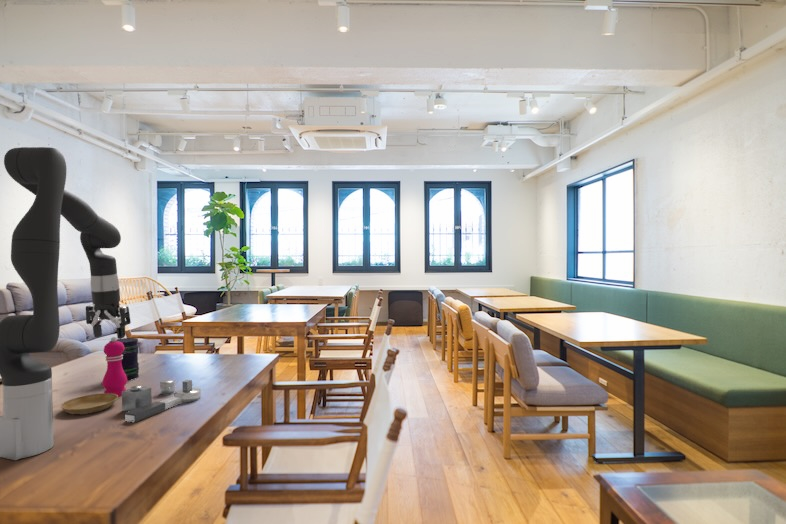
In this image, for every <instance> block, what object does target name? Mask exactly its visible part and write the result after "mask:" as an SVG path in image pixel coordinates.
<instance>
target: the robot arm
mask: <svg viewBox="0 0 786 524" xmlns="http://www.w3.org/2000/svg"><path fill="white" fill-rule="evenodd" d="M3 165H4V169H5V170H6V173H7V174H8V175H9V176H10V177H11V179H12V180H14V181H15V182H16V183H17V184H19V185H20V186H21V187H22V188H24V189H26V190H27V191H28V192H31V193H32V194H33V195H35V198H34V201H33V203H32V204H31V206H30V208H29V209H28V210H27V212H26V213H25V214H24V215H23V217H22V218H21V220H19V222H18V223H17V225H16V227H15V228H14V230H13V232H12V236H11V243H10V244H11V247H10V260H11V264H12V266H13V268H14V270H15V271H16V272H17V274H18V276H19V277H20V278H21V280H22V281H23V283H24V284H25V285H26V287H27V288H28V291H29V293H30V295H31V300H32V306H33V307H32V309H33V313H32V314H21V315H20V314H16V315H14V314H13V315H10V316H9V315H8V316H6V317H4V318H3V319H1V321H0V378H1V385H2V389H1V390H2V416H0V458H3V459H8V460H11V461H18V460H21V459H25V458H29V457H33V456H36V455H40V454H43V453H45V452H47V451H49V450H51V449H52V448H53V446H54V445H55V444H54V443H55V442H54V438H55V436H54V410H53V409H54V408H53V407H54V406H53V404H54V403H53V370H52V367H51V366H50V365H49V364H47V363H43V362H40V361H38V360H36V359H34V358H33V357H32V356H31V355H30V354H36V353H37V354H38V353H49V352H50V351H52V350H53V349H54V348H55V347H56V346H57V343H58V341H59V336H60V309H59V295H58V291H59V289H58V288H59V287H58V282H59V281H58V278H59V277H58V275H59V261H60V247H61V244H60V243H61V239H60V238H61V233H60V232H61V217H63V218H64V219H65V220H66V221H67V222H68V223H69V224H70V226H72V227H73V228H74V229H75V230H76V231H78V232H80V235H79V239H80V244H81V246H82V248H83V250H84V253H85V254H86V259H87V260H88V262H89V271H90V291H91V292H90V293H91V294H90V295H91V302H92V304H90V305H86V306H85V321H86V324H87V325H90V326H91V327H92V331H93V336H94V338H99V337H102V336H103V333H102V332H103V331H102V324H101V323H103V321H104V320H107V321H111V322H112V323H113V324H115V326H116V336H117V337H116V338H117V339H124V338H126V337H125V336H126V326H128V325H131V323H132V322H131V316H130V309H129V306H128V305H125V306H120V302H121V294H120V293H121V292H120V281H119V276H118V269H117V268H118V267H117V260H116V258H115V256H112V255H108V254H105V253H103V251H102V250H101V249H114V248H116V247H118V246H119V245H120V243H121V240H122V237H121V236H122V235H121V233H120V231H119V229H118V228H117V227H116V226H115V225H114V224H112V223H111V222H109V221H108V220H106V219H105V218H103V217H102V216H99V215H98V214H97V213H96V211H95V210H94V209H93V208H92V207H91V206H90V205H89V203H88V202H86V201H85V200H84V199H82V198H81V197H79V196H77V195H76V194H73V193H72V192H70V191H68V190H67V189H65V187H66V181H67V163H66V159H65V157H64V154H63V153H62V152H61V151H60V150H58V149H57V148H54V147H49V146H48V147H46V146H39V147H34V146H32V147H28V146H26V147H25V146H22V147H14V148H10V149H8V150H7V151H6V153H5V154H4V158H3Z"/></svg>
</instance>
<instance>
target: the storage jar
mask: <svg viewBox="0 0 786 524" xmlns="http://www.w3.org/2000/svg"><path fill="white" fill-rule="evenodd" d="M117 341H119V342H121V343H123V345H124V351H123V353H122V355H123V359H122V362H121V363H122V368H123V370H124V372H125V374H126V377H127V380H129V381H132V380H131V379H133V380H135V378H136V379H138V378H139V376H140V375H139V371H140V367H139V364H140V363H139V361H138V359H139V358H138V354H139V338H137V337H127V338H126V337H124V338H121V339H118V338H117ZM109 342H112V341H111V340H109V341H108V343H109Z"/></svg>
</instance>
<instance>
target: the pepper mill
mask: <svg viewBox="0 0 786 524" xmlns="http://www.w3.org/2000/svg"><path fill="white" fill-rule="evenodd" d="M117 339H118V338H117V337H116V336H112V337H111V338H110V341H112V342H109V341H108V342H107V343H106V344H105V345H104V347H103V353H104V355H106V356H105V361H106V363H107V366H106V367H107V368H106V371H105V374H104V376H103V379H102V384H101V385H102V387H103V388H104V389H105V390H104V392H103V393H112V394H116V395H118V397H122V396H121V395H122V391H125V390H127V388H126V387H125V386H126V385H127V383H128V381H127V377H126V374H125V372H124V370H123V368H122V363H121V362H122V359H123V355H122V353H123V351H124V345H123V343H121V342H119V341H117Z"/></svg>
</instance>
